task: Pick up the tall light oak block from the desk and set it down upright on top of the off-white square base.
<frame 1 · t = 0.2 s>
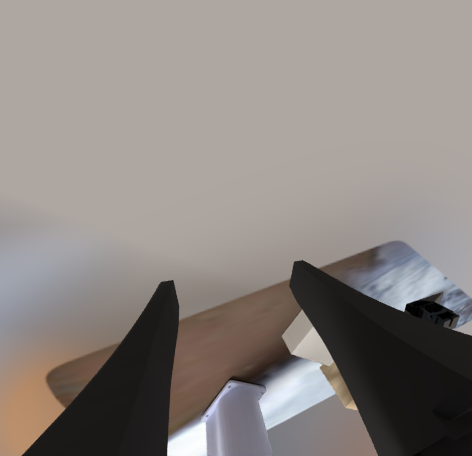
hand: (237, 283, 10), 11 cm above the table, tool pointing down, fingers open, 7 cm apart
oak block: (334, 361, 33), on the table
black mounting plate: (418, 306, 35), on the table
base: (316, 322, 28), on the table
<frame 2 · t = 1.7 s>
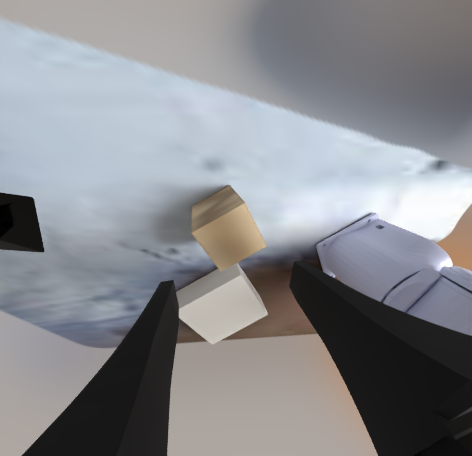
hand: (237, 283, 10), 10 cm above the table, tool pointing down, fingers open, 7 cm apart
oak block: (221, 212, 19), on the table
base: (221, 295, 24), on the table
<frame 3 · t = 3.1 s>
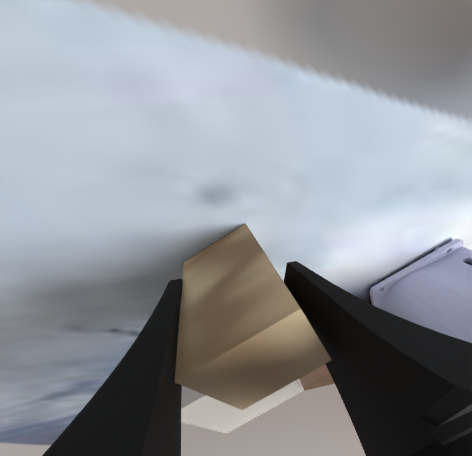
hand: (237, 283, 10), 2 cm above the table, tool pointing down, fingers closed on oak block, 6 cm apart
oak block: (232, 265, 11), on the table, touching gripper
base: (236, 362, 17), on the table
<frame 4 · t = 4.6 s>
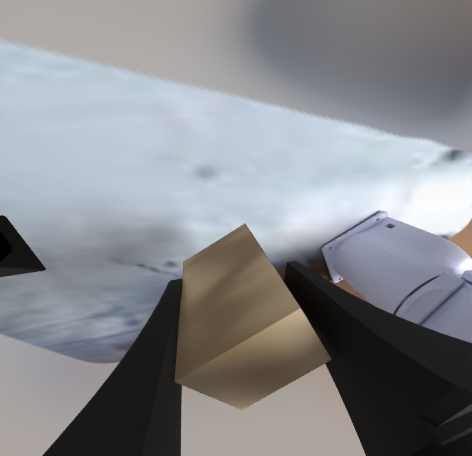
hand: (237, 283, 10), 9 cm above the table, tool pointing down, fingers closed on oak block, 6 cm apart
oak block: (232, 265, 11), point 7 cm above the table, touching gripper
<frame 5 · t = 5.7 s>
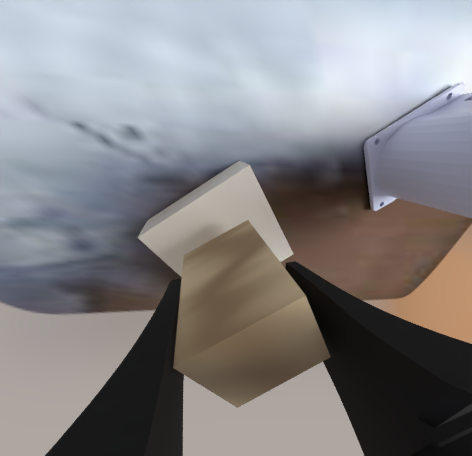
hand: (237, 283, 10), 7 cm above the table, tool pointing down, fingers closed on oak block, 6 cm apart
oak block: (232, 262, 11), point 5 cm above the table, touching gripper
base: (221, 230, 16), on the table
when the fingers open (6 cm above the table, at t = 6.4 s): oak block drops 1 cm, resting on base.
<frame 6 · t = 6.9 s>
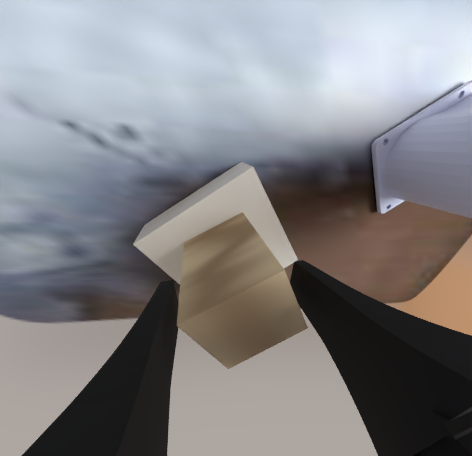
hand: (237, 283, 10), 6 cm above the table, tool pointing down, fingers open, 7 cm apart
oak block: (227, 250, 13), point 3 cm above the table, touching base
base: (222, 234, 15), on the table
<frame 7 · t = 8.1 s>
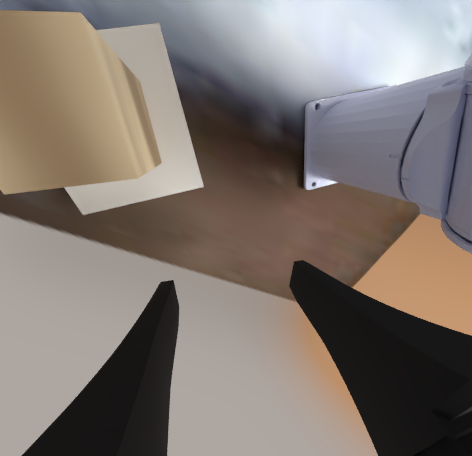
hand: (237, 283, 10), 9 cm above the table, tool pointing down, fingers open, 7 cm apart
oak block: (114, 129, 11), point 3 cm above the table, touching base
base: (130, 135, 13), on the table
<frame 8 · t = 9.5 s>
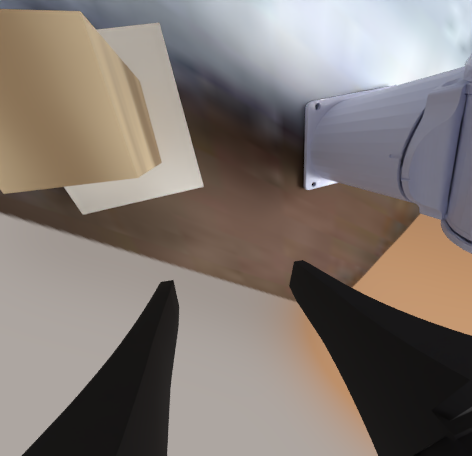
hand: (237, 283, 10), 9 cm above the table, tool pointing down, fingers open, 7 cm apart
oak block: (114, 128, 11), point 3 cm above the table, touching base
base: (130, 135, 13), on the table
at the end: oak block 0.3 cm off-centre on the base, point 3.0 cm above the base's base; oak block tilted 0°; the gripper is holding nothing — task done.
